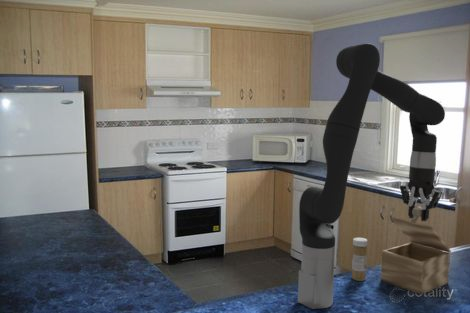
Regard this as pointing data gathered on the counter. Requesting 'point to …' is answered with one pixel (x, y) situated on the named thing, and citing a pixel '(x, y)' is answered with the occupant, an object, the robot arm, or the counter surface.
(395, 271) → the wooden box
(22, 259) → the counter surface
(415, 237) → the wooden box lid
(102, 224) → the counter surface
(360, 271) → the sprinkles bottle
